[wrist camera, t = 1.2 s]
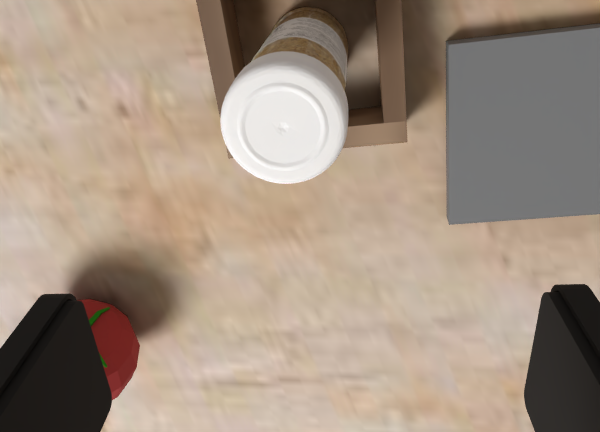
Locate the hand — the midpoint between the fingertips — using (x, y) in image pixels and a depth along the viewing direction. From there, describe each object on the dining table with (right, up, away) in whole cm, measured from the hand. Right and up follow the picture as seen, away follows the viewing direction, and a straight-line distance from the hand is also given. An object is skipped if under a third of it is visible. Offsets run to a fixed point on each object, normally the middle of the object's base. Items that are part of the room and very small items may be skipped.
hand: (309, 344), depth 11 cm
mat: (+14, +8, +21) cm, 26 cm away
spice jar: (0, +12, +20) cm, 23 cm away
